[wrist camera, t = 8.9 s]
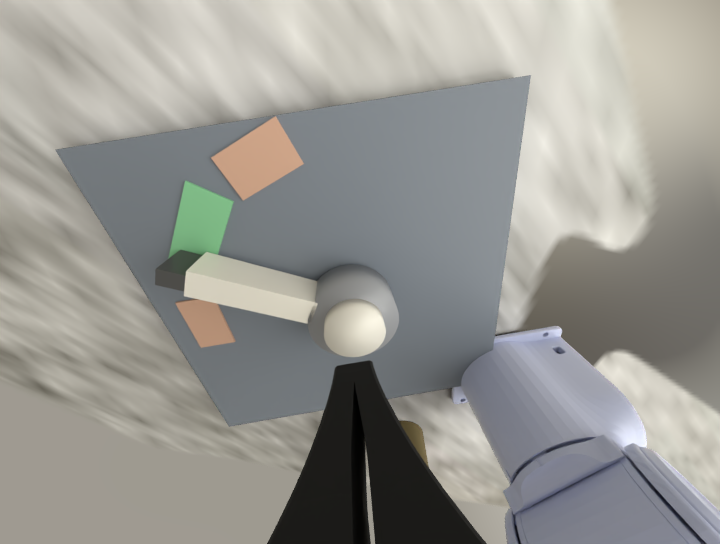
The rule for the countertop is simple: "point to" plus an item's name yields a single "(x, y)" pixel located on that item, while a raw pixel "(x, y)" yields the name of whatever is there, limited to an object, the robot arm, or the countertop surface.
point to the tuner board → (324, 232)
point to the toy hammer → (294, 298)
